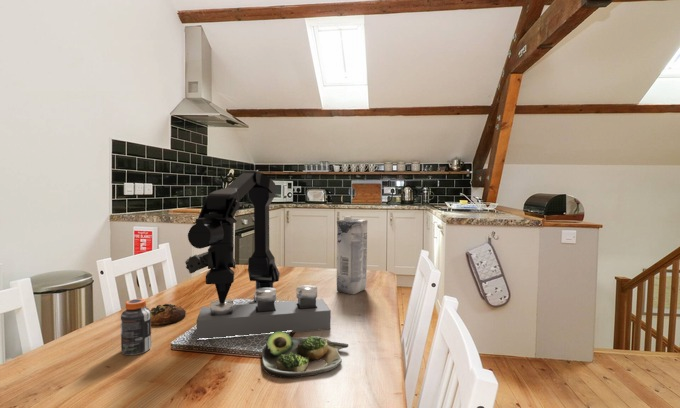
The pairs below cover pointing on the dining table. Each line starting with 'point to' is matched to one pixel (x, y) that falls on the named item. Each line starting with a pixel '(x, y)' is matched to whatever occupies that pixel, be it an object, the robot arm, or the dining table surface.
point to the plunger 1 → (221, 307)
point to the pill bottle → (135, 328)
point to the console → (263, 320)
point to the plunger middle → (265, 299)
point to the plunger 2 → (306, 296)
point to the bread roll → (166, 314)
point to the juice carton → (351, 255)
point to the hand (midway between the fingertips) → (222, 302)
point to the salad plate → (298, 355)
